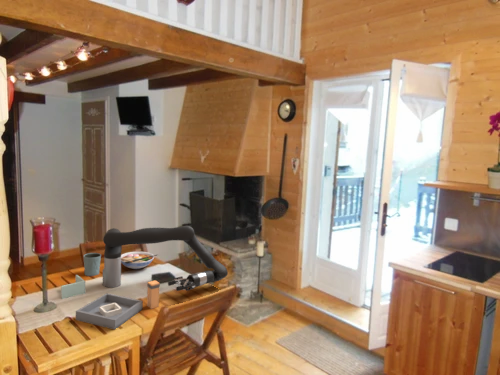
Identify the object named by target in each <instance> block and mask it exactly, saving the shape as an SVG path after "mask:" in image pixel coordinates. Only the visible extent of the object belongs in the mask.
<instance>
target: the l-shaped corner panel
mask: <svg viewBox="0 0 500 375" xmlns="http://www.w3.org/2000/svg"><path fill="white" fill-rule="evenodd" d="M60 289H61V300H64V299H68V298H72V297H75V296H80V295H83V294H84V295H85V294H86V280H84V279H83V278H82V277H81V276H79V275H78V274H75V282H74V283H73V282H72V283H69V284H65V285H61V288H60Z"/></svg>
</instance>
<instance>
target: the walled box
mask: <svg viewBox="0 0 500 375" xmlns="http://www.w3.org/2000/svg"><path fill="white" fill-rule="evenodd" d="M143 302H144V300H141V299H135V298H131V297H126V296H123V295H122V296H121V295H117V294H112V293H107V292H106V293H104V294H103V295H101V296H100V297H97V298H96V299H95V300H93V301H91V302H89V303H87V304H86V305H84V306H81V307H80V308H79V309H77V310H75V321H78V322H82V323H86V324H87V323H88V324H91V325H95V326H98V327H103V328H106V327H107V329H112V330H117V329H118V328H119V327H121V326H122V325H123V324H124V323H126V322H127V321H128V320H130V319H131V318H133V317H134V316H136V315H137V314H138V313H139V312H141V311H142V310H143V308H144V307H143V306H144V304H143ZM116 328H117V329H116Z"/></svg>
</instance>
